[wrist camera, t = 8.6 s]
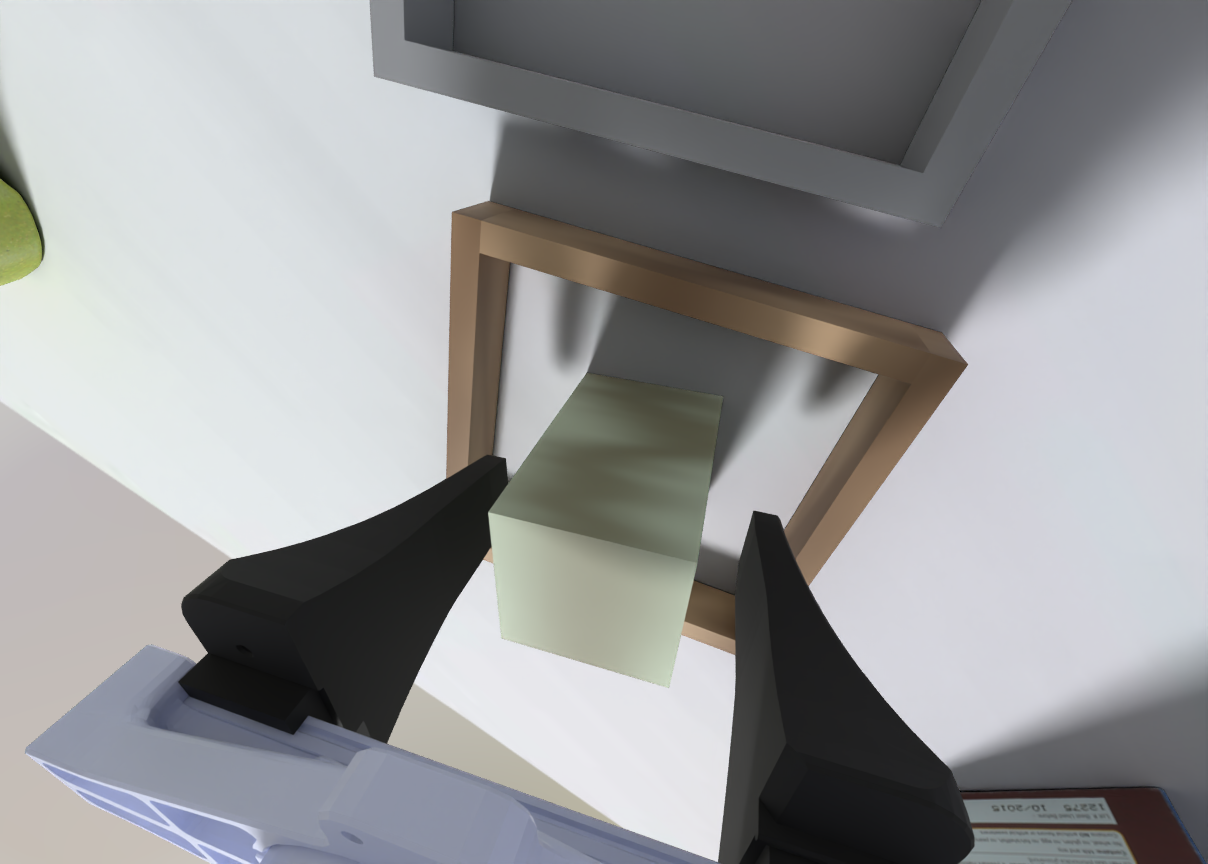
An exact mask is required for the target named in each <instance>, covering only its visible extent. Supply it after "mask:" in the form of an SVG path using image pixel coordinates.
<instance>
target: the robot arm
mask: <svg viewBox="0 0 1208 864" xmlns="http://www.w3.org/2000/svg"><path fill="white" fill-rule="evenodd" d="M507 485H508V478H507V466H506V458H501V457H496V456H492V455H486V456H484V457H482V458H480V459H478V460H477V461H475V462H473V463H472V464H470V465H468V466H467V467H465V468H463V469H462V470H460V471H458V472H457V473H455V474H454V475H452V476H450V477H448V478H447V479H445V480H443V481H442V482H440V483H438V484H437V485H435V486H433V487H431V488H430V489H428V490H426V491H424V492H422V493H420V494H419V495H417V496H415V497H413V498H411V499H409V500H407V501H405V502H404V503H402V504H400V505H398V506H396V507H394V508H392V509H390V510H387V511H385V512H383V513H381V514H379V515H376V516H374V517H372V518H369V519H367V520H365V521H362V522H360V523H357V524H355V525H352V526H349V527H346V528H344V529H341V530H338V531H335V532H333V533H330V534H327V535H324V536H321V537H318V538H315V539H312V540H308V541H305V542H302V543H298V544H295V545H291V546H288V547H284V548H280V549H276V550H272V551H268V552H263V553H259V554H254V555H250V556H245V557H241V558H236V559H231V560H229V561H228V562H226V563H225V564H224V565H223V566H221V567H220V568H219V569H218V570H217V571H215V572H214V573H213V574H212V575H211V576H209V577H208V578H207V579H206V580H205V581H203V582H202V583H201V584H200V585H199V586H197V587H196V588H195V589H194V590H192V591H191V592H190V593H189V594H187V595H186V596H185V597H184V598H183V601H182V606H181V607H182V613H183V616H184V617H185V619H186V621H187V623H188V624H189V626H190V627H191V629H192V630H193V632H194V633H195V635H196V636H197V637H198V639H199V640H200V642H201V643H202V645H203V646H204V648H205V649H206V651H207V652H208V654H207V655H206V656H205V657H204V658H203V659H201V660H200V661H199V662H198V663H197V664H196V663H195V662H194V661H192V660H191V659H189V658H187V657H185V656H183V655H181V654H178V653H175V652H172V651H169V650H167V649H164V648H161V647H158V646H155V645H152V644H151V645H146V646H145V647H144V648H143V649H142V650H140V651H139V652H138V653H137V654H136V655H135V656H133V657H132V658H131V659H130V660H129V661H128V662H126V663H125V664H124V665H123V666H122V667H120V668H119V669H118V670H117V671H116V672H114V674H112V675H111V676H110V677H109V678H107V679H106V680H105V681H104V682H103V683H102V684H101V685H99V686H98V687H97V688H96V689H94V690H93V691H92V692H91V693H90V694H89V695H87V696H86V697H85V698H84V699H83V700H81V701H80V702H79V703H78V704H77V705H76V706H74V707H73V708H72V709H71V710H70V711H69V712H67V713H66V714H65V715H64V716H63V717H62V718H60V719H59V720H58V721H57V722H56V723H54V724H53V725H52V726H51V727H50V728H48V729H47V730H46V731H45V732H44V733H43V734H41V735H40V736H39V737H38V738H37V739H36V740H34V741H33V742H32V743H31V744H30V745H28V746H27V747H26V750H25V754H27V755H28V756H29V757H31V758H32V759H33V760H34V761H36V762H37V763H38V764H39V765H41V766H42V767H43V768H45V769H46V770H47V771H49V772H50V773H51V774H52V775H54V776H55V777H56V778H57V779H59V780H60V781H61V782H62V783H64V784H65V785H66V786H68V787H69V788H70V789H72V790H73V791H74V792H75V793H77V794H78V795H79V796H80V797H82V798H83V799H84V800H85V801H87V802H88V803H90V804H91V805H93V806H96V807H98V808H100V809H102V810H105V811H106V812H109V813H111V814H113V815H115V816H117V817H120V818H122V819H124V820H126V821H128V822H130V823H132V824H134V825H136V826H138V827H140V828H142V829H144V830H146V831H148V832H150V833H152V834H154V835H156V836H158V837H161V838H162V839H164V840H166V841H168V842H170V843H172V844H174V845H176V846H178V847H180V848H182V849H184V850H186V851H188V852H190V853H192V854H194V855H195V856H198V857H199V858H201V859H203V860H205V861H207V862H209V863H211V864H959V863H960V862H961V861H962V860H964V859H965V858H966V857H967V856H968V855H969V853H970V852H971V851H972V849H973V848H974V847H975V837H974V833H973V829H972V826H971V822H970V819H969V816H968V812H967V809H966V807H965V804H964V801H963V799H962V796H961V794H960V791H959V789H958V786H957V784H956V781H955V779H954V777H953V774H952V771H951V770H950V769H949V768H948V767H947V766H946V765H945V764H944V763H943V762H942V761H941V760H940V759H939V758H938V757H937V756H936V755H935V754H934V753H933V752H932V750H931V749H930V748H929V747H928V746H927V745H926V744H925V743H924V742H923V741H922V740H921V739H920V738H919V737H918V736H917V735H916V734H915V733H914V732H913V731H912V730H911V729H910V728H909V727H908V726H907V725H906V724H905V722H904V721H903V720H902V719H901V718H900V717H899V716H898V714H897V713H896V712H895V711H894V710H893V709H892V708H891V707H890V705H889V704H888V703H887V702H886V701H885V700H884V698H883V697H882V696H881V695H880V693H879V692H878V691H877V689H876V688H875V687H874V686H873V684H872V683H871V682H870V681H869V679H868V678H867V677H866V676H865V674H864V673H863V672H862V671H861V669H860V668H859V667H858V665H857V664H856V663H855V661H854V660H853V658H852V657H851V655H850V654H849V653H848V651H847V650H846V648H845V647H844V646H843V644H842V643H841V641H840V640H839V638H838V636H837V635H836V633H835V632H834V630H833V629H832V627H831V626H830V624H829V622H828V621H827V619H826V617H825V616H824V614H823V612H822V611H821V609H820V607H819V605H818V603H817V602H816V600H815V598H814V596H813V594H812V592H811V590H810V589H809V587H808V585H807V583H806V581H805V579H804V576H803V574H802V572H801V570H800V568H799V566H798V564H797V562H796V560H795V557H794V555H793V553H792V550H791V548H790V545H789V543H788V540H787V538H786V535H785V532H784V530H783V527H782V524H781V520H780V519H779V517H778V516H777V515H772V514H767V513H762V512H758V511H753V514H752V518H751V522H750V525H749V529H748V532H747V536H746V539H745V543H744V546H743V550H742V553H741V557H740V560H739V565H738V574H737V583H736V593H735V656H736V683H735V701H734V713H733V724H732V736H731V746H730V757H729V767H728V777H727V786H726V796H725V805H724V815H723V824H722V832H721V841H720V850H719V859H718V862H715V861H713V860H710V859H707V858H704V857H702V856H699V855H696V854H693V853H690V852H688V851H685V850H682V849H679V848H676V847H674V846H671V845H668V844H665V843H662V842H660V841H657V840H654V839H651V838H648V837H646V836H643V835H640V834H637V833H635V832H632V831H629V830H626V829H623V828H621V827H617V826H615V825H612V824H609V823H607V822H604V821H601V820H598V819H595V818H593V817H590V816H587V815H584V814H581V813H579V812H576V811H573V810H570V809H568V808H565V807H562V806H559V805H556V804H553V803H551V802H548V801H545V800H542V799H540V798H537V797H534V796H531V795H528V794H526V793H523V792H520V791H517V790H514V789H511V788H509V787H506V786H503V785H501V784H498V783H495V782H492V781H489V780H487V779H484V778H481V777H478V776H475V775H473V774H470V773H467V772H464V771H461V770H458V769H456V768H453V767H450V766H447V765H445V764H442V763H439V762H436V761H433V760H431V759H428V758H425V757H422V756H419V755H417V754H414V753H411V752H408V751H406V750H403V749H400V748H397V747H394V746H391V745H389V744H387V742H388V740H389V737H390V735H391V732H392V730H393V728H394V725H395V723H396V721H397V718H398V716H399V713H400V711H401V709H402V707H403V705H404V702H405V700H406V698H407V696H408V694H409V691H410V689H411V687H412V685H413V683H414V681H415V678H416V676H417V674H418V672H419V670H420V668H421V666H422V664H423V662H424V660H425V658H426V656H427V654H428V652H429V650H430V647H431V645H432V643H433V641H434V639H435V638H436V636H437V634H438V632H439V630H440V628H441V626H442V624H443V622H444V620H445V618H446V617H447V615H448V613H449V611H450V609H451V608H452V606H453V604H454V603H455V601H456V599H457V598H458V596H459V595H460V593H461V592H462V590H463V589H464V587H465V586H466V584H467V583H468V581H469V580H470V578H471V577H472V575H473V574H474V572H475V571H476V569H477V568H478V566H479V565H480V563H481V562H482V560H483V559H484V557H485V556H486V554H487V553H488V551H489V550H490V548H491V546H492V544H491V535H490V525H489V516H488V512H489V510H490V509H491V507H492V506H493V505H494V503H495V502H496V500H497V499H498V498H499V496H500V495H501V493H502V492H503V490H504V489H505V488H506V486H507Z"/></svg>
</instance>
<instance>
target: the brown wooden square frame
mask: <svg viewBox="0 0 1208 864" xmlns="http://www.w3.org/2000/svg"><path fill="white" fill-rule="evenodd" d="M510 262H511V263H514V264H518V265H521V266H524V267H527V268H531V269H534V270H537V271H541V272H544V273H547V274H550V275H554V276H557V277H560V278H564V279H567V280H570V281H574V282H577V283H580V284H583V285H587V286H590V287H593V288H597V289H600V290H603V291H606V292H610V293H613V294H616V295H620V296H623V297H626V298H629V299H633V300H636V301H639V302H643V303H646V304H649V305H653V306H656V307H659V308H662V309H666V310H669V311H672V312H676V313H679V314H682V315H685V316H689V317H692V318H695V319H699V320H702V321H705V322H708V323H712V324H715V325H718V326H722V327H725V328H728V329H731V330H735V331H738V332H741V333H745V334H748V335H751V336H755V337H758V338H761V339H764V340H768V341H771V342H774V343H778V344H781V345H784V346H787V347H791V348H794V349H797V350H801V351H804V352H807V353H810V354H814V355H817V356H820V357H824V358H827V359H830V360H834V361H837V362H840V363H843V364H847V365H850V366H853V367H857V368H860V369H863V370H866V371H870V372H873V373H876V374H879V375H878V377H877V379H876V380H875V382H874V384H873V385H872V387H871V388H870V390H869V392H868V393H867V395H866V397H865V398H864V400H863V402H862V403H861V405H860V407H859V408H858V410H857V411H856V413H855V415H854V416H853V418H852V420H851V421H850V423H849V425H848V426H847V428H846V430H845V431H844V433H843V434H842V436H841V438H840V439H839V441H838V443H837V444H836V446H835V448H834V449H833V451H832V453H831V454H830V456H829V457H828V459H827V461H826V462H825V464H824V466H823V467H822V469H821V471H820V472H819V474H818V476H817V477H816V479H815V480H814V482H813V484H812V485H811V487H810V489H809V490H808V492H807V494H806V495H805V497H804V499H803V500H802V502H801V504H800V505H799V507H798V508H797V510H796V512H795V513H794V515H793V517H792V518H791V520H790V522H789V523H788V525H787V527H786V528H785V530H784V532H785V535H786V538H787V540H788V543H789V545H790V548H791V550H792V553H793V555H794V557H795V560H796V562H797V564H798V566H799V568H800V570H801V572H802V574H803V576H804V579H805V581H806V583H807V585H808V586H809V585H810V583H811V582H812V581H813V579H814V578H815V576H816V575H817V574H818V572H819V571H820V569H821V568H822V567H823V565H824V564H825V563H826V561H827V560H828V558H829V557H830V556H831V554H832V553H833V551H834V550H835V549H836V547H837V546H838V544H839V543H840V542H841V540H842V539H843V538H844V536H845V535H846V533H847V532H848V531H849V529H850V528H851V526H852V525H853V524H854V522H855V521H856V519H857V518H858V517H859V515H860V514H861V513H862V511H863V510H864V508H865V507H866V506H867V504H868V503H869V501H870V500H871V499H872V497H873V496H874V495H875V493H876V492H877V490H878V489H879V488H880V486H881V485H882V483H883V482H884V481H885V479H886V478H887V476H888V475H889V474H890V472H891V471H892V470H893V468H894V467H895V465H896V464H897V463H898V461H899V460H900V458H901V457H902V456H903V454H904V453H905V451H906V450H907V449H908V447H909V446H910V445H911V443H912V442H913V440H914V439H915V438H916V436H917V435H918V433H919V432H920V431H921V429H922V428H923V426H924V425H925V424H926V422H927V421H928V420H929V418H930V417H931V415H932V414H933V413H934V411H935V410H936V408H937V407H938V406H939V404H940V403H941V402H942V400H943V399H944V397H945V396H946V395H947V393H948V392H949V390H950V389H951V388H952V386H953V385H954V383H955V382H956V381H957V379H958V378H959V377H960V375H961V374H962V372H963V371H964V370H965V368H966V367H967V365H968V364H967V363H966V361H965V360H964V359H963V358H962V356H961V355H960V354H959V353H958V352H957V350H956V349H955V348H954V347H953V346H952V344H951V343H950V342H949V341H948V339H947V338H946V337H945V336H944V335H943V333H942V332H938V331H935V330H931V329H928V328H924V327H921V326H917V325H914V324H911V323H907V322H904V321H900V320H897V319H893V318H890V317H886V316H883V315H880V314H876V313H873V312H869V311H866V310H862V309H859V308H855V307H852V306H849V305H845V304H842V303H838V302H835V301H831V300H828V299H824V298H821V297H818V296H814V295H811V294H807V293H804V292H800V291H797V290H793V289H790V288H787V287H783V286H780V285H776V284H773V283H769V282H766V281H762V280H759V279H756V278H752V277H749V276H745V275H742V274H738V273H735V272H731V271H728V270H725V269H721V268H718V267H714V266H711V265H707V264H704V263H700V262H697V261H694V260H690V259H687V258H683V257H680V256H676V255H673V254H670V253H666V252H663V251H659V250H656V249H652V248H649V247H645V246H642V245H639V244H635V243H632V242H628V241H625V240H621V239H618V238H614V237H611V236H608V235H604V234H601V233H597V232H594V231H590V230H587V229H583V228H580V227H577V226H573V225H570V224H566V223H563V222H559V221H556V220H552V219H549V218H546V217H542V216H539V215H535V214H532V213H528V212H525V211H521V210H518V209H515V208H511V207H508V206H504V205H501V204H497V203H494V202H490V201H487V202H484V203H480V204H477V205H474V206H470V207H467V208H463V209H460V210H457V211H453V212H452V232H451V279H450V327H449V374H448V422H447V469H446V479H447V478H448V477H450V476H452V475H454V474H455V473H457V472H458V471H460V470H462V469H463V468H465V467H467V466H468V465H470V464H472V463H473V462H475V461H477V460H478V459H480V458H482V457H484V456H486V455H492V454H493V443H494V432H495V421H496V410H497V399H498V388H499V377H500V366H501V355H502V344H503V333H504V323H505V312H506V301H507V290H508V279H509V268H510ZM483 560H486V561H488V562H491V563H493V554H492V546H491V548H490V550H489V551H488V553H487V554H486V556H485V557H484V559H483ZM681 635H684V636H686V637H689V638H691V639H694V640H697V641H699V642H702V643H705V644H707V645H710V646H713V647H715V648H718V649H721V650H723V651H726V652H728V653H731V654H734V655H735V595H732V594H729V593H726V592H724V591H721V590H718V589H716V588H713V587H710V586H707V585H705V584H702V583H699V582H696V581H693V585H692V589H691V594H690V598H689V603H688V607H687V611H686V616H685V620H684V624H683V629H682V633H681Z"/></svg>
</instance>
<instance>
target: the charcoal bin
mask: <svg viewBox="0 0 1208 864" xmlns="http://www.w3.org/2000/svg"><path fill="white" fill-rule="evenodd" d="M1071 2H1072V0H982V1H981V3H980V5H979V7H978V9H977V11H976V13H975V15H974V17H973V19H972V21H971V23H970V25H969V27H968V29H967V31H966V33H965V35H964V37H963V39H962V41H961V43H960V45H959V47H958V49H957V51H956V53H955V55H954V57H953V59H952V61H951V63H950V65H949V67H948V69H947V71H946V73H945V75H944V77H943V79H942V81H941V83H940V85H939V87H938V89H937V91H936V93H935V95H934V97H933V99H932V102H931V104H930V106H929V108H928V110H927V112H926V114H925V116H924V118H923V120H922V122H921V124H920V126H919V128H918V130H917V132H916V134H915V136H914V138H913V140H912V142H911V144H910V146H909V148H908V150H907V152H906V154H905V156H904V158H903V160H902V162H901V164H900V165H897V164H893V163H890V162H886V161H882V160H878V159H874V158H870V157H866V156H862V155H858V154H854V153H850V152H847V151H843V150H839V149H835V148H831V147H827V146H823V145H819V144H815V143H811V142H807V141H804V140H800V139H796V138H792V137H788V136H784V135H780V134H776V133H772V132H768V131H764V130H761V129H757V128H753V127H749V126H745V125H741V124H737V123H733V122H729V121H725V120H721V119H718V118H714V117H710V116H706V115H702V114H698V113H694V112H690V111H686V110H682V109H678V108H675V107H671V106H667V105H663V104H659V103H655V102H651V101H647V100H643V99H639V98H635V97H632V96H628V95H624V94H620V93H616V92H612V91H608V90H604V89H600V88H596V87H592V86H589V85H585V84H581V83H577V82H573V81H569V80H565V79H561V78H557V77H553V76H549V75H546V74H542V73H538V72H534V71H530V70H526V69H522V68H518V67H514V66H510V65H506V64H503V63H499V62H495V61H491V60H487V59H483V58H479V57H475V56H471V55H467V54H463V53H460V52H456V51H453V23H454V0H370V15H371V33H372V50H373V68H374V77H378V78H382V79H385V80H389V81H393V82H397V83H400V84H404V85H408V86H412V87H415V88H419V89H423V90H427V91H430V92H434V93H438V94H441V95H445V96H449V97H453V98H456V99H460V100H464V101H468V102H471V103H475V104H479V105H483V106H486V107H490V108H494V109H498V110H501V111H505V112H509V113H513V114H516V115H520V116H524V117H528V118H531V119H535V120H539V121H542V122H546V123H550V124H554V125H557V126H561V127H565V128H569V129H572V130H576V131H580V132H584V133H587V134H591V135H595V136H599V137H602V138H606V139H610V140H614V141H617V142H621V143H625V144H628V145H632V146H636V147H640V148H643V149H647V150H651V151H655V152H658V153H662V154H666V155H670V156H673V157H677V158H681V159H685V160H688V161H692V162H696V163H700V164H703V165H707V166H711V167H715V168H718V169H722V170H726V171H729V172H733V173H737V174H741V175H744V176H748V177H752V178H756V179H759V180H763V181H767V182H771V183H774V184H778V185H782V186H786V187H789V188H793V189H797V190H801V191H804V192H808V193H812V194H815V195H819V196H823V197H827V198H830V199H834V200H838V201H842V202H845V203H849V204H853V205H857V206H860V207H864V208H868V209H872V210H875V211H879V212H883V213H887V214H890V215H894V216H898V217H901V218H905V219H909V220H913V221H916V222H920V223H924V224H928V225H931V226H935V227H939V228H941V227H942V225H943V224H944V222H945V220H946V218H947V217H948V215H949V213H950V211H951V210H952V208H953V206H954V205H955V203H956V201H957V199H958V198H959V196H960V194H961V192H962V191H963V189H964V187H965V186H966V184H967V182H968V180H969V179H970V177H971V175H972V173H973V172H974V170H975V168H976V166H977V165H978V163H979V161H980V160H981V158H982V156H983V154H984V153H985V151H986V149H987V147H988V146H989V144H990V142H991V141H992V139H993V137H994V135H995V134H996V132H997V130H998V128H999V127H1000V125H1001V123H1002V121H1003V120H1004V118H1005V116H1006V115H1007V113H1008V111H1009V109H1010V108H1011V106H1012V104H1013V102H1014V101H1015V99H1016V97H1017V96H1018V94H1019V92H1020V90H1021V89H1022V87H1023V85H1024V83H1025V82H1026V80H1027V78H1028V76H1029V75H1030V73H1031V71H1032V70H1033V68H1034V66H1035V64H1036V63H1037V61H1038V59H1039V57H1040V56H1041V54H1042V52H1043V50H1044V49H1045V47H1046V45H1047V44H1048V42H1049V40H1050V38H1051V37H1052V35H1053V33H1054V31H1055V30H1056V28H1057V26H1058V25H1059V23H1060V21H1061V19H1062V18H1063V16H1064V14H1065V12H1066V11H1067V9H1068V7H1069V5H1070V4H1071Z"/></svg>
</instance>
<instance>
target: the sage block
mask: <svg viewBox="0 0 1208 864" xmlns="http://www.w3.org/2000/svg"><path fill="white" fill-rule="evenodd" d="M722 401H723V396H718V395H713V394H707V393H701V392H695V391H690V390H684V389H678V388H672V387H667V386H661V385H655V384H649V383H644V382H638V381H632V380H627V379H621V378H615V377H609V376H604V375H598V374H592V373H586V375H585V376H584V378H583V379H582V380H581V382H580V383H579V385H578V386H577V387H576V389H575V390H574V392H573V393H572V395H571V396H570V397H569V399H568V400H567V402H566V403H565V404H564V406H563V407H562V409H561V410H560V411H559V413H558V414H557V416H556V417H555V419H554V420H553V421H552V423H551V424H550V426H549V427H548V428H547V430H546V431H545V433H544V434H543V435H542V437H541V438H540V440H539V441H538V443H537V444H536V445H535V447H534V448H533V450H532V451H531V452H530V454H529V455H528V457H527V458H526V459H525V461H524V462H523V464H522V465H521V466H520V468H519V469H518V471H517V472H516V474H515V475H514V476H513V478H512V479H511V481H510V482H509V483H508V485H507V486H506V488H505V489H504V490H503V492H502V493H501V495H500V496H499V498H498V499H497V500H496V502H495V503H494V505H493V506H492V507H491V509H490V510H489V512H488V516H489V525H490V535H491V544H492V554H493V563H494V573H495V582H496V592H497V601H498V611H499V620H500V630H501V638H502V639H505V640H509V641H512V642H516V643H519V644H522V645H526V646H529V647H532V648H536V649H539V650H542V651H546V652H549V653H553V654H556V655H559V656H563V657H566V658H569V659H573V660H576V661H580V662H583V663H586V664H590V665H593V666H596V667H600V668H603V669H606V670H610V671H613V672H617V673H620V674H623V675H627V676H630V677H633V678H637V679H640V680H643V681H647V682H650V683H654V684H657V685H660V686H664V687H667V688H669V686H670V681H671V677H672V672H673V668H674V664H675V659H676V655H677V651H678V646H679V642H680V637H681V633H682V629H683V624H684V620H685V616H686V611H687V607H688V603H689V598H690V594H691V589H692V585H693V581H694V576H695V572H696V568H697V563H698V557H699V550H700V544H701V537H702V531H703V524H704V518H705V511H706V505H707V499H708V492H709V486H710V479H711V473H712V466H713V460H714V453H715V447H716V440H717V434H718V427H719V421H720V414H721V408H722Z"/></svg>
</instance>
